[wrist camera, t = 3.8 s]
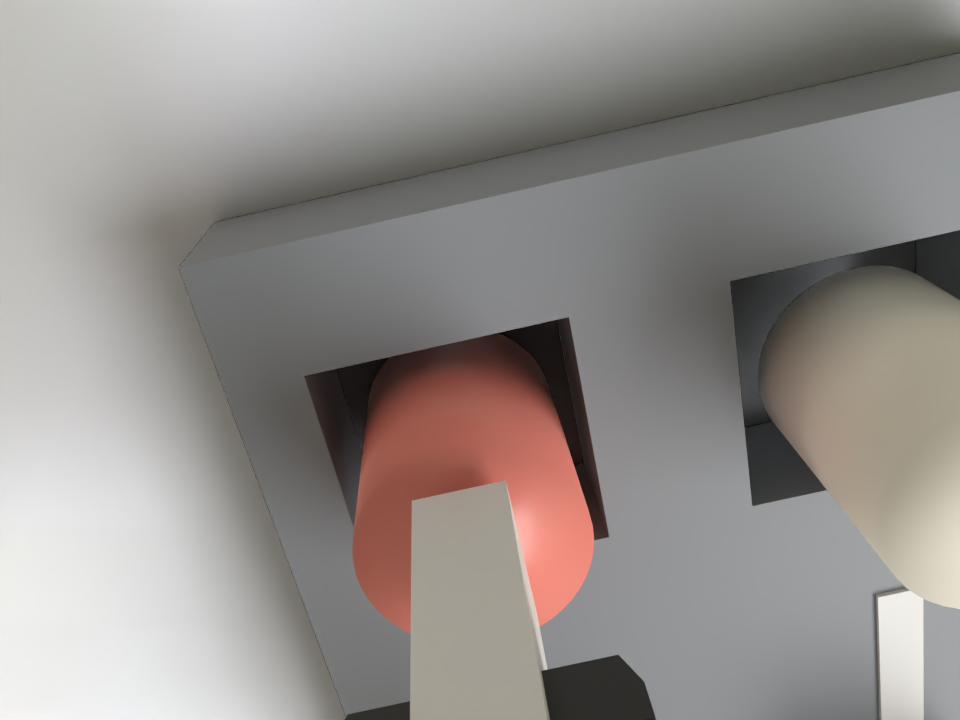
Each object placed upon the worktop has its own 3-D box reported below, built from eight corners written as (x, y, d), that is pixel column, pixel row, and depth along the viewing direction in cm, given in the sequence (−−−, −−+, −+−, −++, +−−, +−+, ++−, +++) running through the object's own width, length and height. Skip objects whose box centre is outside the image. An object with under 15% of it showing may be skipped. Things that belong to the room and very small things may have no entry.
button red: (345, 349, 18) (322, 475, 14) (533, 308, 18) (572, 420, 14) (393, 507, 20) (386, 666, 15) (565, 469, 20) (611, 618, 15)
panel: (214, 222, 18) (125, 332, 13) (989, 46, 18) (1248, 80, 12) (436, 863, 26) (442, 1099, 21) (969, 752, 26) (1118, 963, 20)
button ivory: (749, 290, 17) (875, 412, 12) (958, 244, 17) (1164, 349, 12) (765, 468, 18) (881, 633, 14) (955, 427, 18) (1135, 579, 14)
